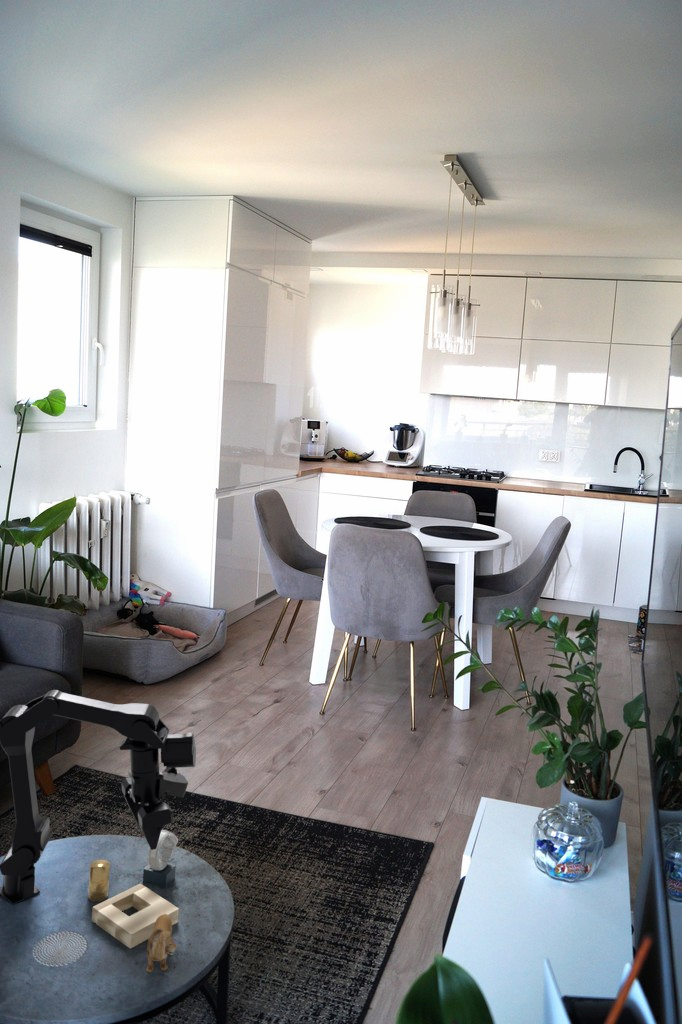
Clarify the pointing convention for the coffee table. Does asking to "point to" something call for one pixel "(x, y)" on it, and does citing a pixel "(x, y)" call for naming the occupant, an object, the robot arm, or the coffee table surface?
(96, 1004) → the coffee table surface
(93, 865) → the brass cylinder plug
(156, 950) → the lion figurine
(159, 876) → the watch
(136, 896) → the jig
